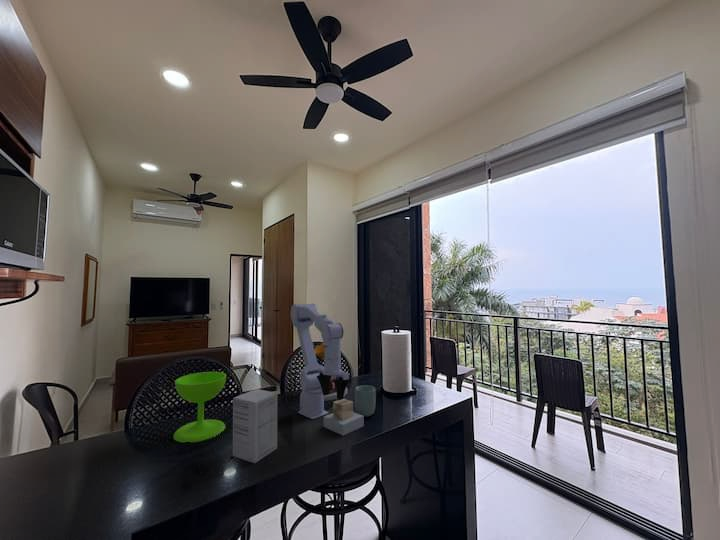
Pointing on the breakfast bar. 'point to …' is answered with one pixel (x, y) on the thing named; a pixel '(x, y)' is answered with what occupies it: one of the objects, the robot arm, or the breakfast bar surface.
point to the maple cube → (343, 409)
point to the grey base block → (344, 423)
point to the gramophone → (332, 389)
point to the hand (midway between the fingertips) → (333, 397)
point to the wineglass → (200, 404)
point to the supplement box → (254, 425)
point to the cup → (365, 400)
